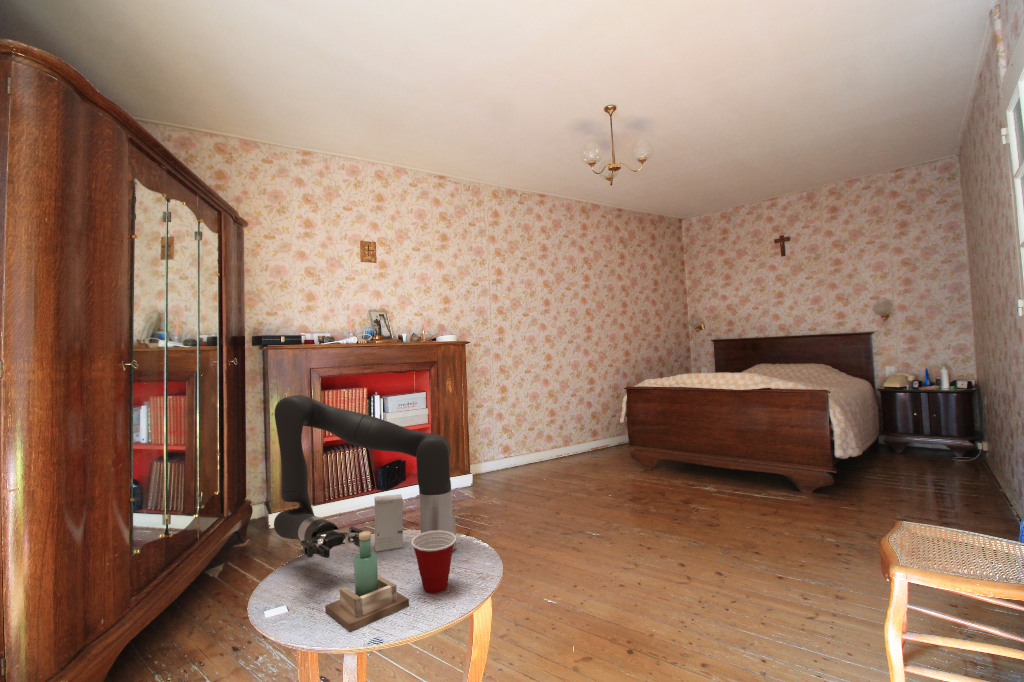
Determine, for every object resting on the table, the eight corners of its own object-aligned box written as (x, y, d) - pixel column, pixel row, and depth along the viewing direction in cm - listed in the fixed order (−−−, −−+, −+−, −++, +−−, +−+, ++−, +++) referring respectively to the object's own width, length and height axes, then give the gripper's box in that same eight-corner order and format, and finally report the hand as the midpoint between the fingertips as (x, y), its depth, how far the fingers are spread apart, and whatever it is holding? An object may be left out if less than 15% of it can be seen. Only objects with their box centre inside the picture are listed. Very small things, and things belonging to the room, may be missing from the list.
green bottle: (371, 594, 112) (369, 527, 113) (382, 601, 108) (380, 532, 109) (351, 602, 108) (349, 533, 109) (361, 610, 105) (359, 538, 106)
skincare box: (375, 552, 142) (373, 501, 143) (374, 545, 148) (373, 496, 148) (404, 547, 144) (402, 497, 145) (402, 541, 150) (401, 492, 151)
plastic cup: (414, 602, 110) (413, 549, 111) (411, 582, 120) (409, 533, 121) (461, 594, 113) (459, 542, 114) (454, 575, 124) (452, 527, 124)
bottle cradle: (382, 589, 117) (381, 568, 118) (409, 605, 109) (408, 583, 109) (325, 612, 108) (324, 589, 108) (349, 631, 99) (349, 606, 99)
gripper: (289, 526, 123) (315, 540, 111) (343, 512, 133) (372, 524, 121) (290, 556, 122) (316, 574, 111) (344, 540, 132) (373, 555, 121)
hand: (345, 548), depth 116 cm, fingers open, 8 cm apart
